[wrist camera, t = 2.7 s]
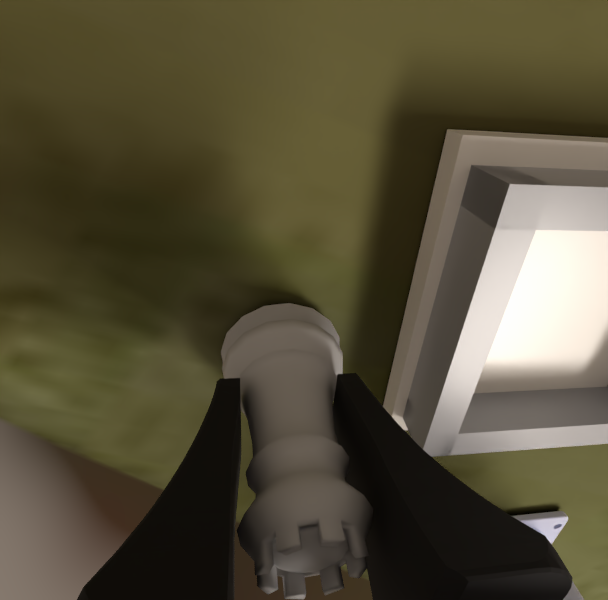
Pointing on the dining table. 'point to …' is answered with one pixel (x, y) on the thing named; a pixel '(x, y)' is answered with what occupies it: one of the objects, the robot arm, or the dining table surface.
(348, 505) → the rook chess piece
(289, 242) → the dining table surface
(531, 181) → the pocket tray
